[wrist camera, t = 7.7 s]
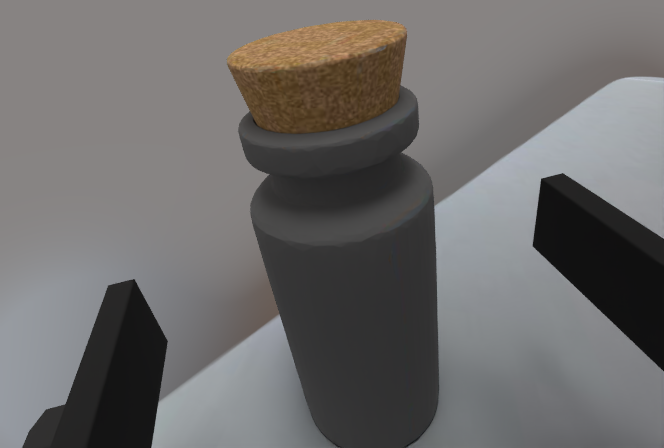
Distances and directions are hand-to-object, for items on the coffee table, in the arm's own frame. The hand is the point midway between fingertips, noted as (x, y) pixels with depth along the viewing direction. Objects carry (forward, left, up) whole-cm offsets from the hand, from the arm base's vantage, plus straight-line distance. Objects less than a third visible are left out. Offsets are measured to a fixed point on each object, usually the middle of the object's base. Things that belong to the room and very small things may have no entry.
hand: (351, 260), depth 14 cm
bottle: (-1, -1, -9) cm, 9 cm away
